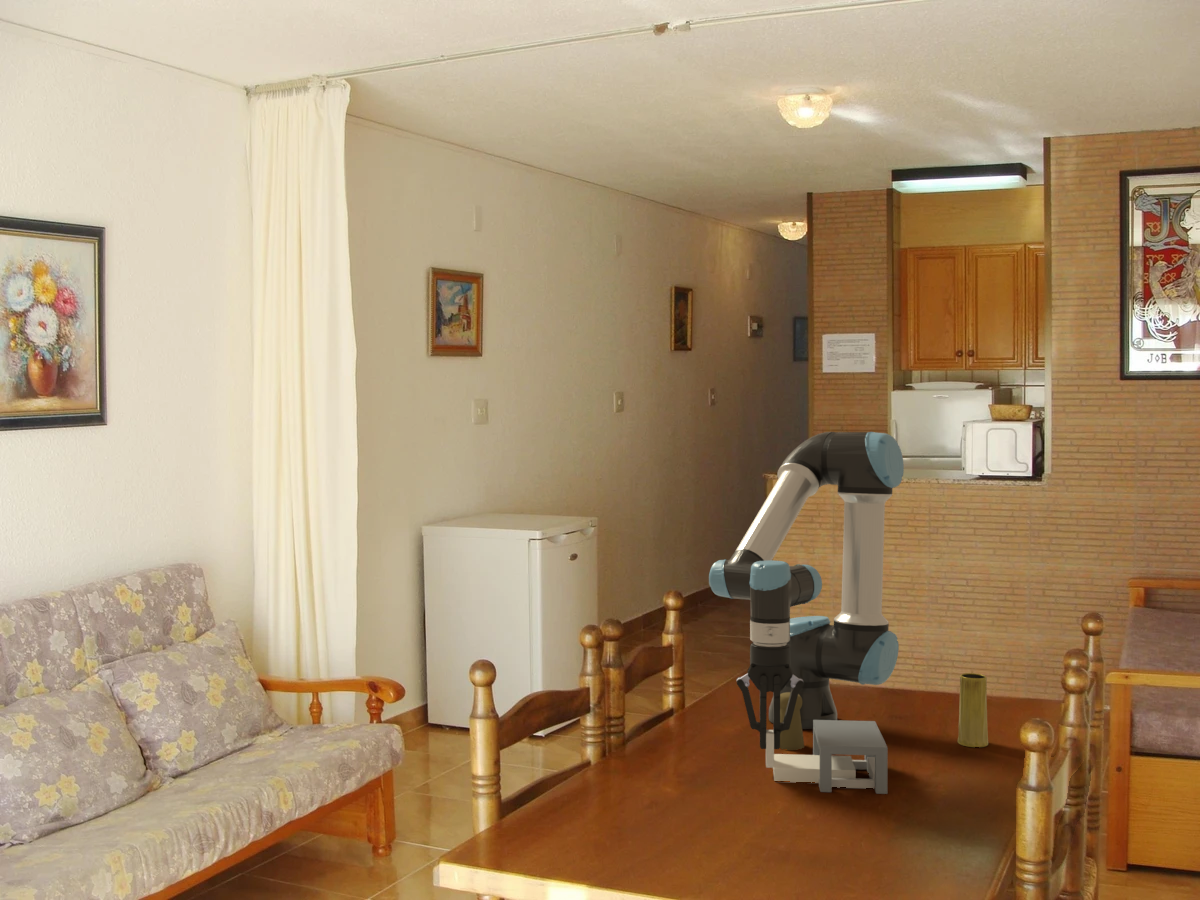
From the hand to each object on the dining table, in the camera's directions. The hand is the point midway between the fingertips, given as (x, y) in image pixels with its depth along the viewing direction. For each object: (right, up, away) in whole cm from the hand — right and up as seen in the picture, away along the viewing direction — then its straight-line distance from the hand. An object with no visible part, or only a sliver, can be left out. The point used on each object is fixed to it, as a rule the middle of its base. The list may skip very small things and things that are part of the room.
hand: (769, 765), depth 226 cm
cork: (+7, -1, +19) cm, 21 cm away
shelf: (+15, -2, -2) cm, 15 cm away
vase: (+45, -1, +20) cm, 50 cm away
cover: (+8, -2, 0) cm, 9 cm away
